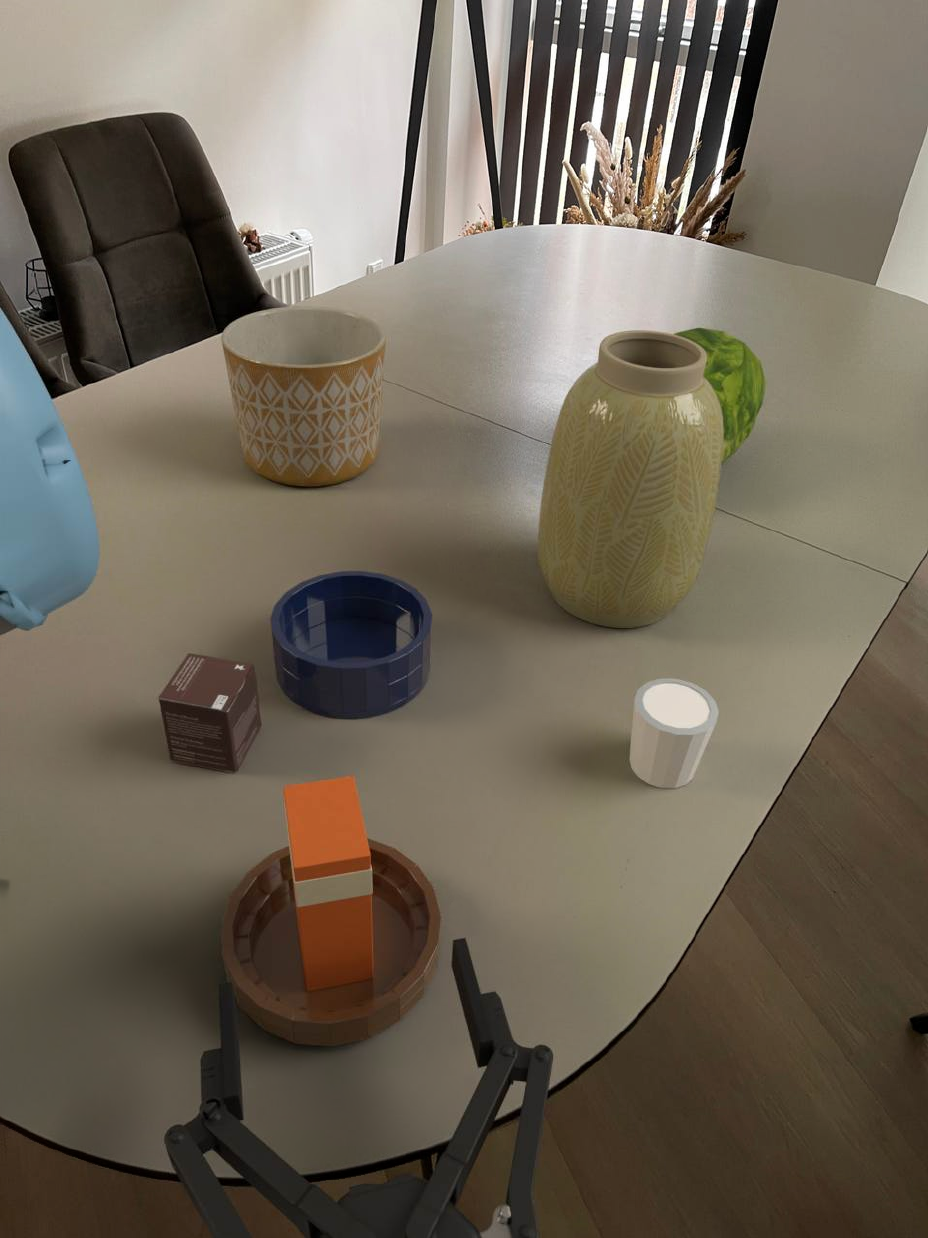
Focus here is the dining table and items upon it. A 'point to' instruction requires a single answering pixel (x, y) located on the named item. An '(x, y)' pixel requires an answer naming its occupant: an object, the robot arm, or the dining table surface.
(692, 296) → the dining table surface
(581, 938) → the dining table surface
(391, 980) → the bowl
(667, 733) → the white cylinder
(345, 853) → the packet
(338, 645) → the pot
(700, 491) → the vase
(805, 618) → the dining table surface
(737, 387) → the lettuce
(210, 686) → the box
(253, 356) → the planter
